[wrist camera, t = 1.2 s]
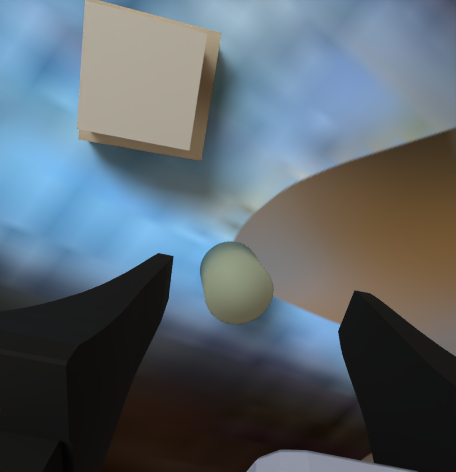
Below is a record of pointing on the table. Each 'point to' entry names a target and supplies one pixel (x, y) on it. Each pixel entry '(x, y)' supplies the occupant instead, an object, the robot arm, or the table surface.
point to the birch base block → (201, 105)
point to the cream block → (139, 77)
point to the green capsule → (235, 283)
